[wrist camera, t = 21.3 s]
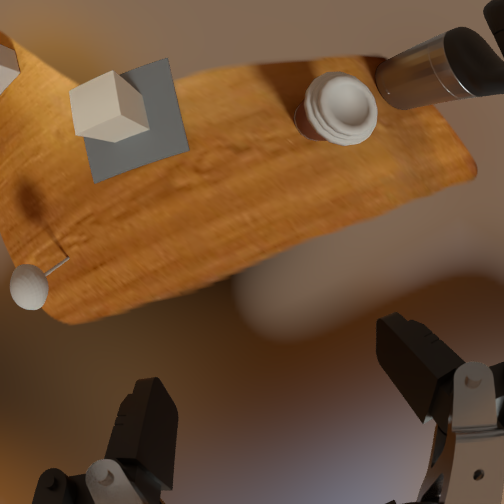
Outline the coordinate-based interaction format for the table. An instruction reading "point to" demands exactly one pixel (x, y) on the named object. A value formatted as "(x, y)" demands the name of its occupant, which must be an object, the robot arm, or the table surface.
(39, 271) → the lollipop
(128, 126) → the block
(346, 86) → the coffee cup
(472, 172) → the table surface
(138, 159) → the mat
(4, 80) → the milk carton
